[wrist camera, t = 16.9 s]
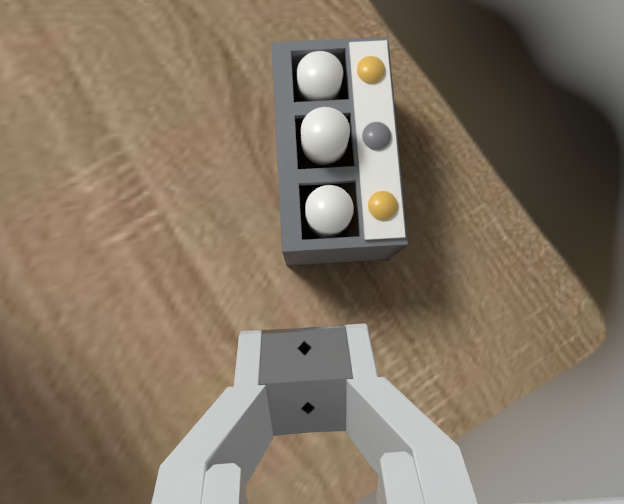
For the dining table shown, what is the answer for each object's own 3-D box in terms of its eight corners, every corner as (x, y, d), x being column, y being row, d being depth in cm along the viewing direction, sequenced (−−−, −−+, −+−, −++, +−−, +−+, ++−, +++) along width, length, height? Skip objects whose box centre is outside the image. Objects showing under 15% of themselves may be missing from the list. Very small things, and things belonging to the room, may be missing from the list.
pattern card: (404, 237, 36) (405, 236, 35) (364, 240, 36) (365, 238, 35) (386, 42, 38) (387, 38, 38) (349, 44, 38) (349, 40, 38)
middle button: (348, 163, 37) (351, 152, 35) (302, 166, 37) (302, 154, 35) (345, 120, 38) (348, 105, 35) (299, 122, 38) (299, 108, 35)
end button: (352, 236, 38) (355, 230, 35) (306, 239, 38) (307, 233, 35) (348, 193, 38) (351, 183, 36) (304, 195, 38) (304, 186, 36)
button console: (389, 259, 44) (407, 244, 36) (286, 265, 43) (282, 251, 35) (374, 86, 46) (388, 36, 38) (277, 91, 46) (271, 42, 38)
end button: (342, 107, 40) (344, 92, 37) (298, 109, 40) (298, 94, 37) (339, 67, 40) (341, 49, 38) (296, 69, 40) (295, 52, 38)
